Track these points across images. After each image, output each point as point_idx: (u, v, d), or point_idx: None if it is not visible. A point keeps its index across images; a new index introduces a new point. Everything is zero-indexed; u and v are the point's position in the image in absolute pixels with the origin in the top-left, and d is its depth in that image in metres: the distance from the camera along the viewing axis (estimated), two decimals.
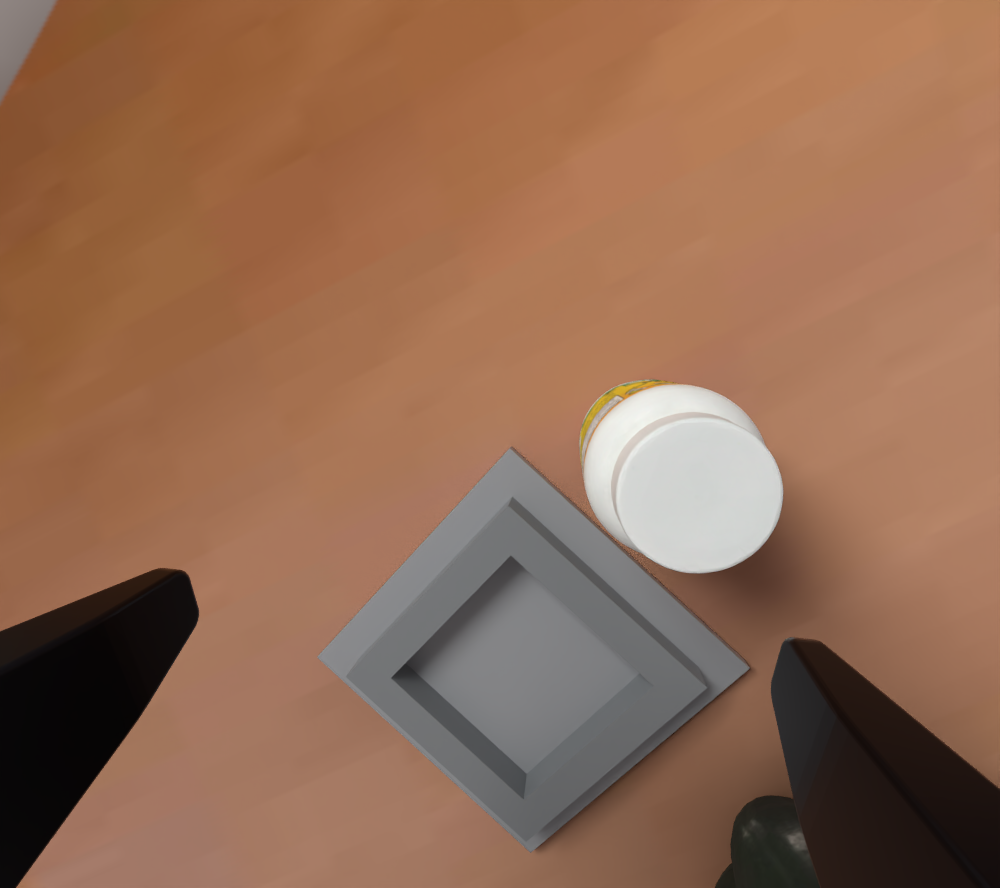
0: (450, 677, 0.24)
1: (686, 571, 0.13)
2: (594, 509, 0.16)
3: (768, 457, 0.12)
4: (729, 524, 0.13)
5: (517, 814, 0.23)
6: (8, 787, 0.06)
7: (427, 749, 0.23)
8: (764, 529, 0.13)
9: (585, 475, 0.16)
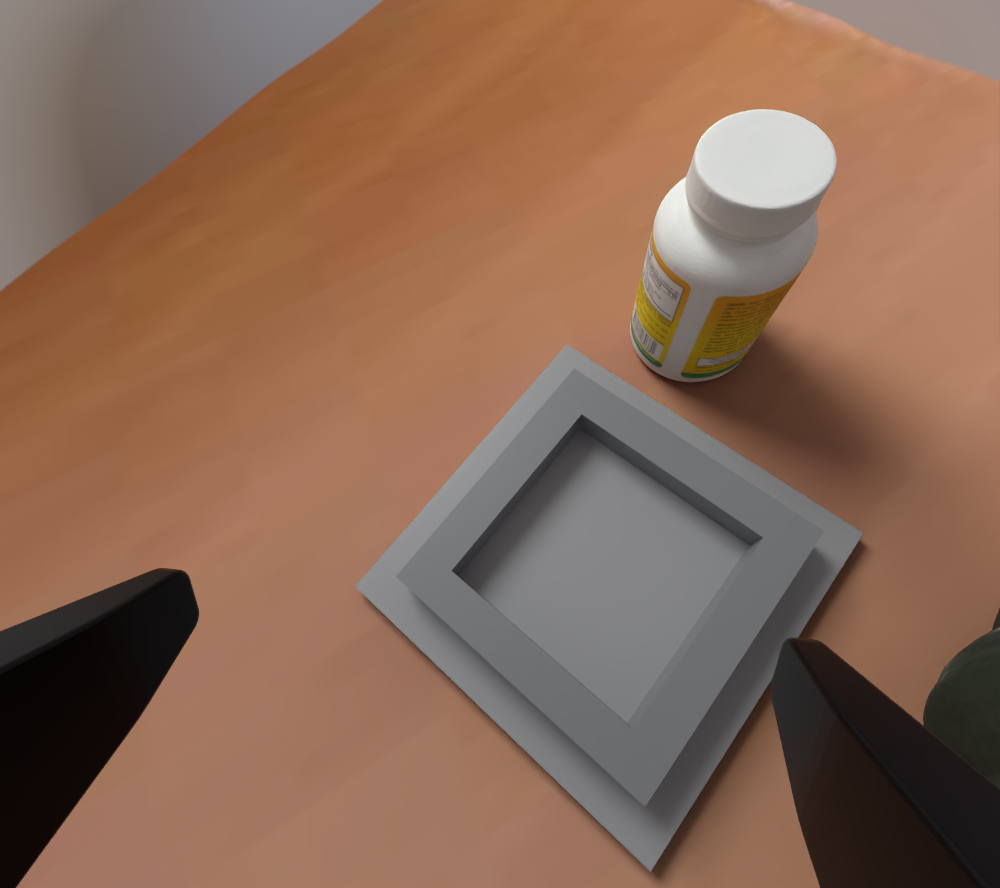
0: (517, 592, 0.20)
1: (772, 207, 0.15)
2: (670, 254, 0.17)
3: (811, 124, 0.16)
4: (797, 169, 0.15)
5: (626, 757, 0.17)
6: (8, 787, 0.06)
7: (497, 666, 0.18)
8: (828, 168, 0.15)
9: (657, 234, 0.18)
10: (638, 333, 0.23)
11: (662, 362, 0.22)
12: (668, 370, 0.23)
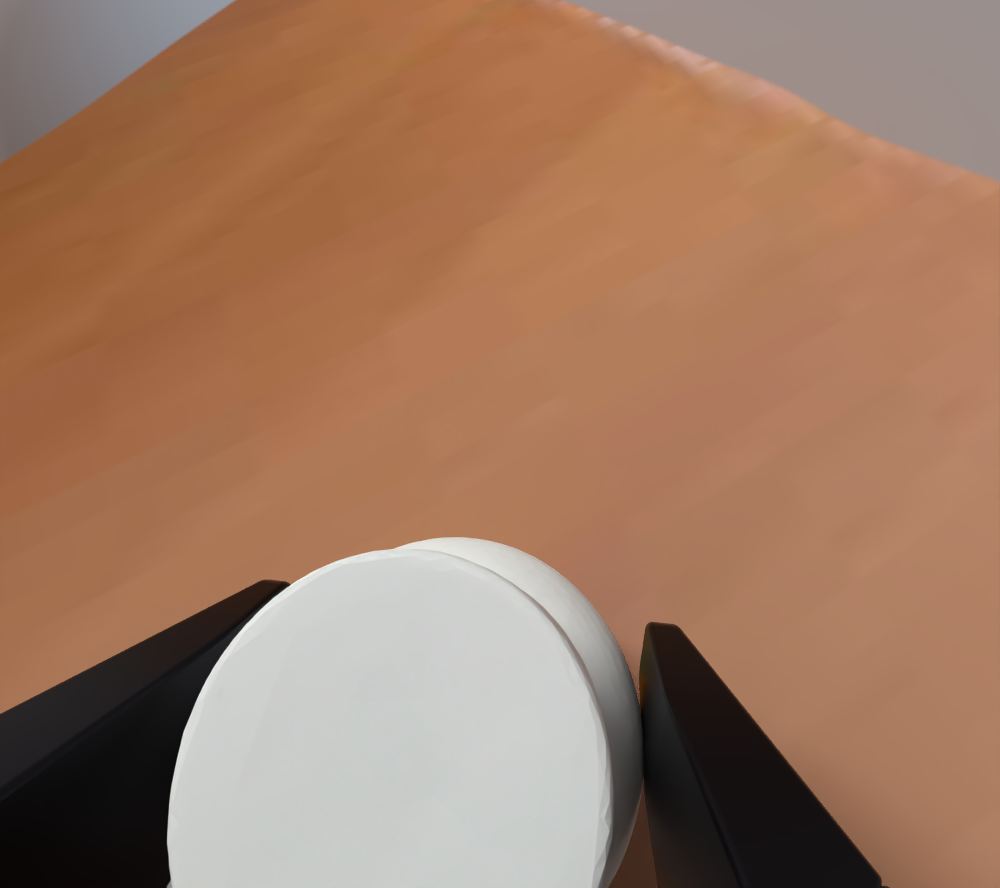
0: None
1: None
2: None
3: (550, 638, 0.05)
4: (470, 866, 0.04)
5: None
6: (144, 812, 0.06)
7: None
8: (572, 879, 0.04)
9: None
10: None
11: None
12: None
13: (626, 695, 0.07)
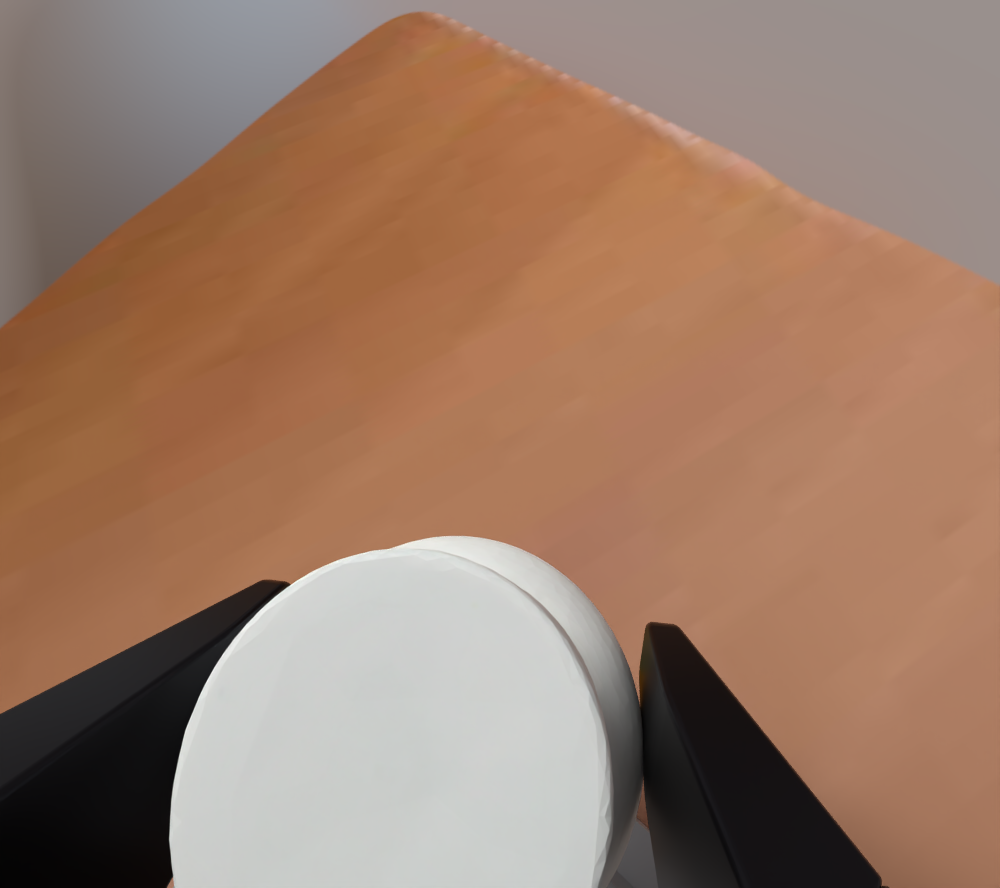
0: None
1: None
2: None
3: (551, 638, 0.05)
4: (471, 864, 0.04)
5: None
6: (144, 812, 0.06)
7: None
8: (573, 877, 0.04)
9: None
10: None
11: None
12: None
13: (627, 694, 0.07)
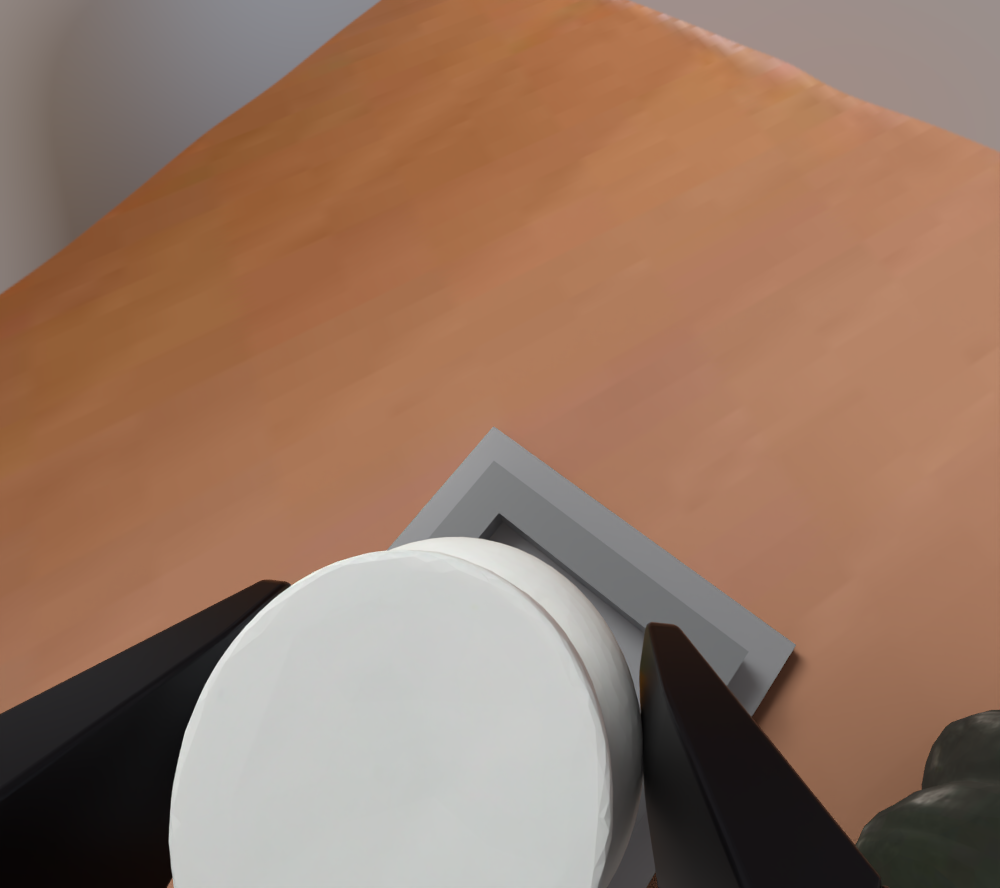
0: None
1: None
2: None
3: (550, 640, 0.05)
4: (471, 866, 0.04)
5: None
6: (143, 812, 0.06)
7: None
8: (572, 879, 0.04)
9: None
10: None
11: None
12: None
13: (627, 694, 0.07)
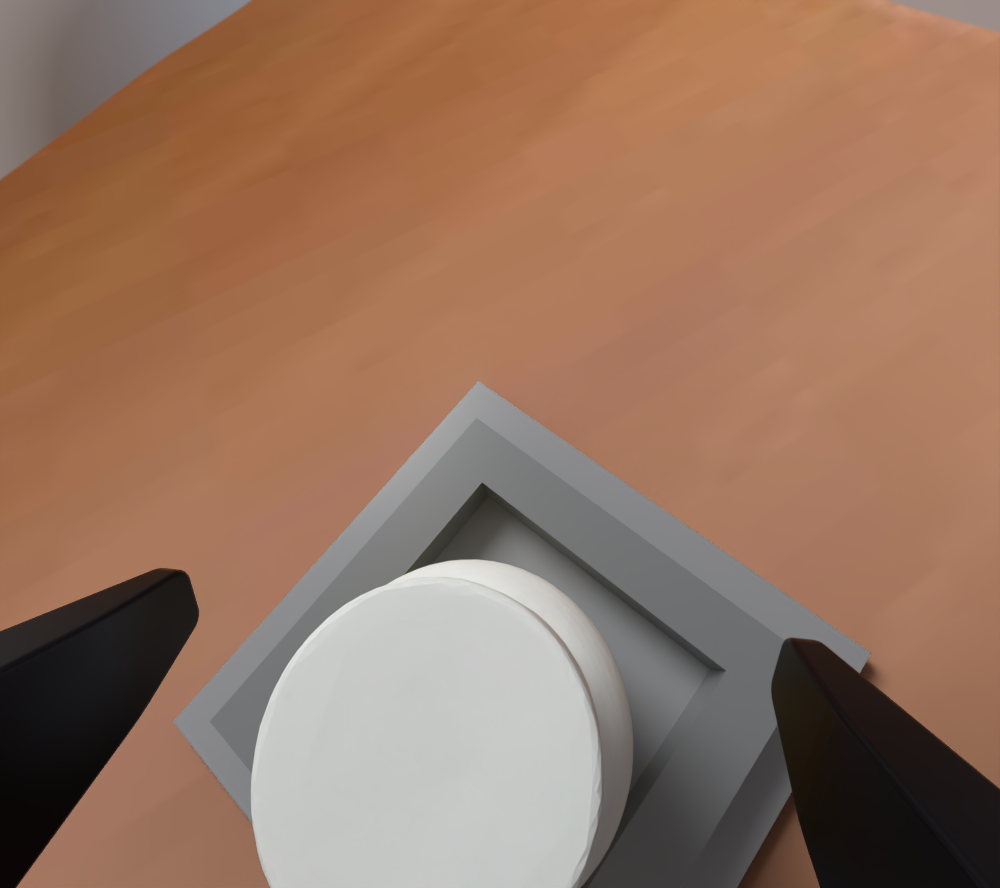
0: None
1: None
2: None
3: (554, 650, 0.06)
4: (493, 829, 0.05)
5: None
6: (8, 787, 0.06)
7: None
8: (572, 838, 0.05)
9: None
10: None
11: None
12: None
13: (617, 696, 0.08)
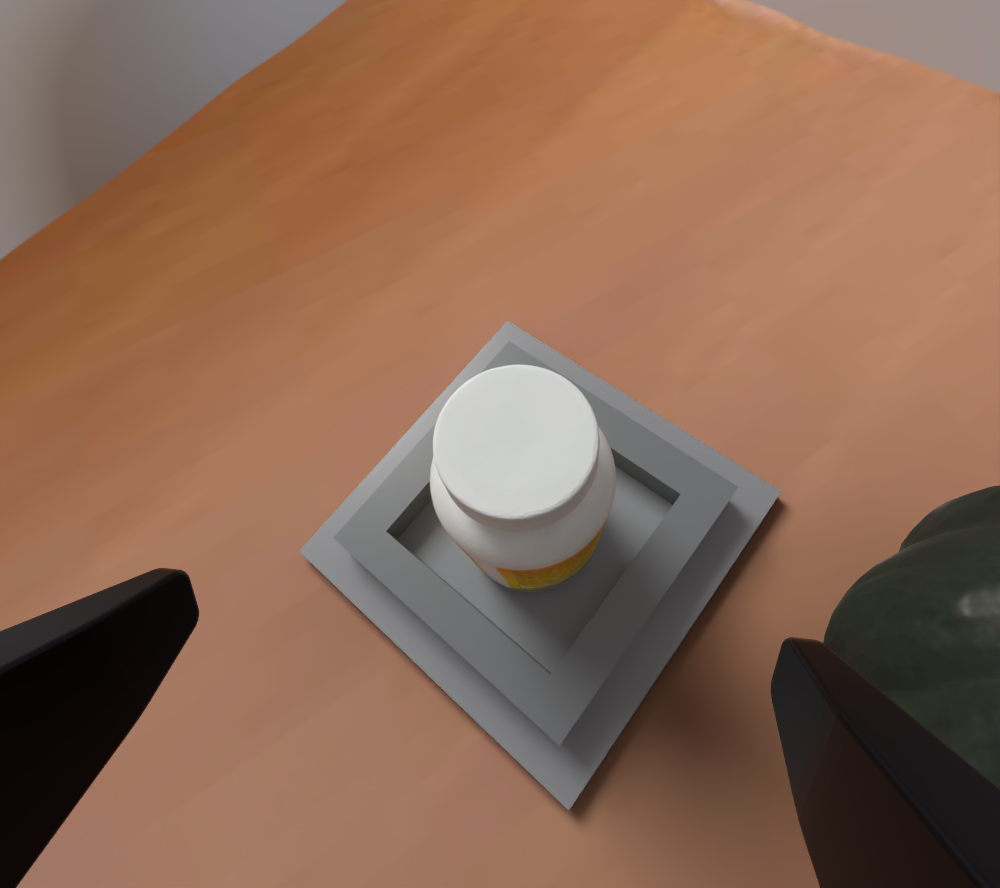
0: (452, 553, 0.21)
1: (511, 517, 0.12)
2: (439, 516, 0.14)
3: (575, 391, 0.13)
4: (549, 460, 0.12)
5: (544, 700, 0.17)
6: (8, 787, 0.06)
7: (425, 619, 0.19)
8: (585, 460, 0.12)
9: (430, 483, 0.15)
10: None
11: (488, 576, 0.19)
12: (498, 582, 0.19)
13: (607, 449, 0.14)
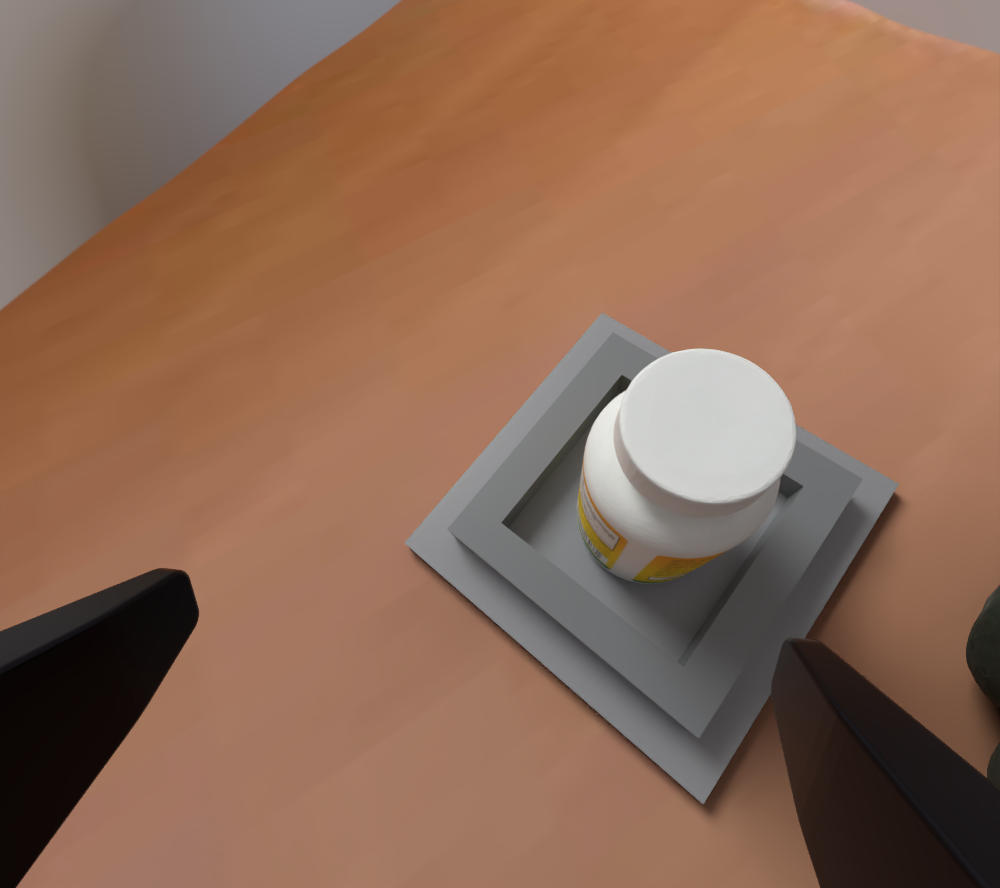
0: (563, 545, 0.21)
1: (714, 501, 0.11)
2: (601, 503, 0.14)
3: (764, 375, 0.12)
4: (746, 444, 0.12)
5: (679, 692, 0.17)
6: (9, 787, 0.06)
7: (549, 611, 0.19)
8: (785, 444, 0.12)
9: (586, 470, 0.15)
10: (582, 531, 0.19)
11: (610, 568, 0.19)
12: (618, 574, 0.19)
13: None
